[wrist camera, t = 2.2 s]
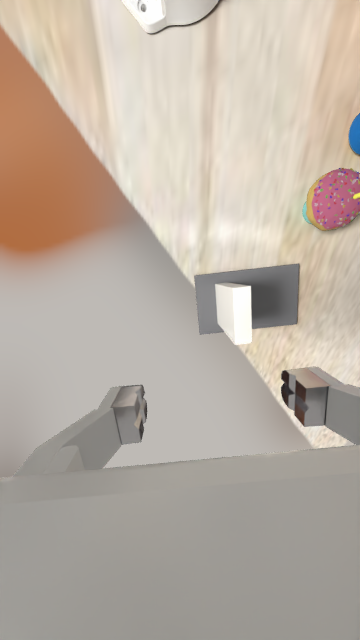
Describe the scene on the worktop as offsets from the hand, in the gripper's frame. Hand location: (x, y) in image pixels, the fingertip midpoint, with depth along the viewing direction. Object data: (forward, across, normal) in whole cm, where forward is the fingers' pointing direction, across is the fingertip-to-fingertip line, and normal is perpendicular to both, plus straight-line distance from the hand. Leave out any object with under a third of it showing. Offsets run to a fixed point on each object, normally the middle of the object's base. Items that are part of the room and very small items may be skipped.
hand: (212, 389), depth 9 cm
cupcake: (+30, -25, -14) cm, 41 cm away
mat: (+29, -12, +1) cm, 32 cm away
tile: (+29, -7, +1) cm, 30 cm away
